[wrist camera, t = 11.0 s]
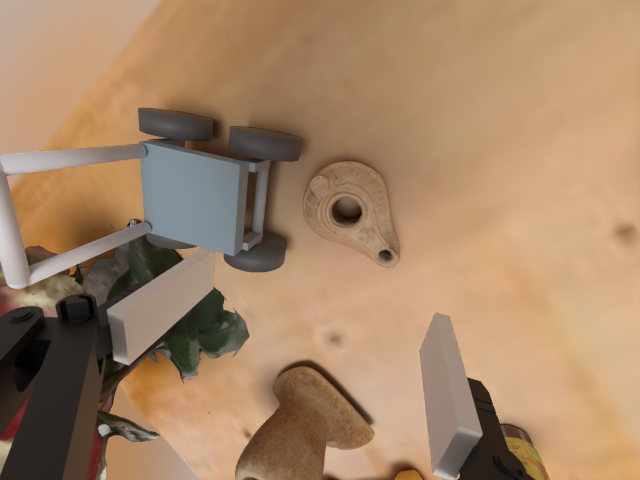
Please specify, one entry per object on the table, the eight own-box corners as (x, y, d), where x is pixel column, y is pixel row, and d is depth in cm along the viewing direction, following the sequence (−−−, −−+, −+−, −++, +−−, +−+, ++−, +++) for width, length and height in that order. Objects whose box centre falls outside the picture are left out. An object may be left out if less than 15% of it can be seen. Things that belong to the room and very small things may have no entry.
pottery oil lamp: (368, 275, 36) (330, 295, 31) (326, 188, 38) (284, 194, 32) (431, 249, 30) (398, 269, 25) (379, 147, 31) (337, 146, 26)
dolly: (170, 109, 35) (-101, 91, 16) (309, 138, 32) (187, 158, 13) (173, 220, 40) (-25, 307, 21) (291, 252, 38) (188, 382, 19)
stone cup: (259, 381, 48) (205, 484, 34) (313, 351, 43) (275, 457, 29) (319, 443, 50) (291, 564, 36) (377, 422, 45) (370, 552, 31)
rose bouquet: (108, 188, 41) (-463, 316, 14) (264, 328, 43) (46, 673, 16) (55, 292, 51) (-327, 482, 24) (183, 400, 54) (-32, 682, 27)
